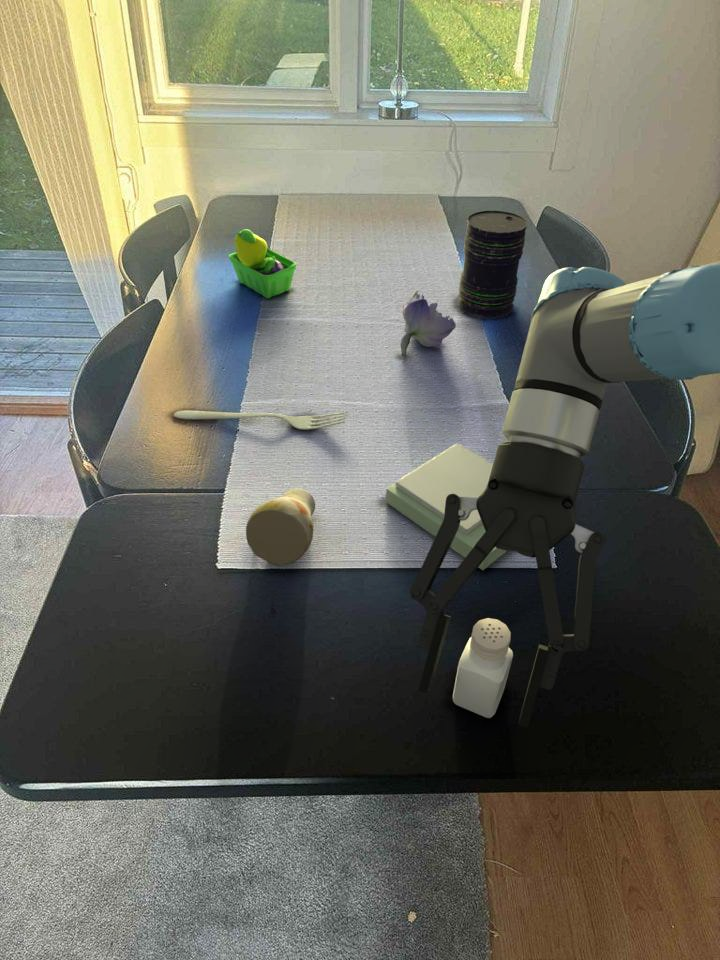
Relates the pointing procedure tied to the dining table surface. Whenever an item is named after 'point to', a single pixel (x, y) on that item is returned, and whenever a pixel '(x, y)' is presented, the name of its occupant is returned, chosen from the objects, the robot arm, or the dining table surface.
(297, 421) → the fork
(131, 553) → the dining table surface
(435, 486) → the scale
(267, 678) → the dining table surface
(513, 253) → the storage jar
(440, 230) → the dining table surface
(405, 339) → the flower
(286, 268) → the fruit basket
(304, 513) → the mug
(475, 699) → the pepper shaker
